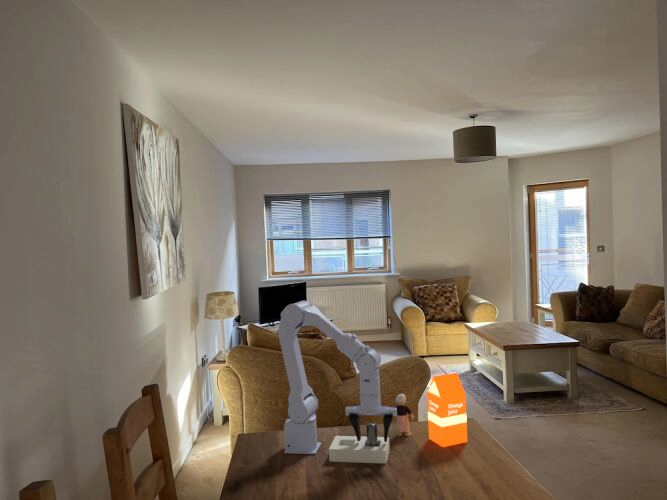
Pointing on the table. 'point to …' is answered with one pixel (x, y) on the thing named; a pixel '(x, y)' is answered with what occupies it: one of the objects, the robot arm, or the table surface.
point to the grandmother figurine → (403, 416)
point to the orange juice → (447, 410)
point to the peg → (372, 434)
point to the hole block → (358, 450)
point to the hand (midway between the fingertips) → (372, 440)
